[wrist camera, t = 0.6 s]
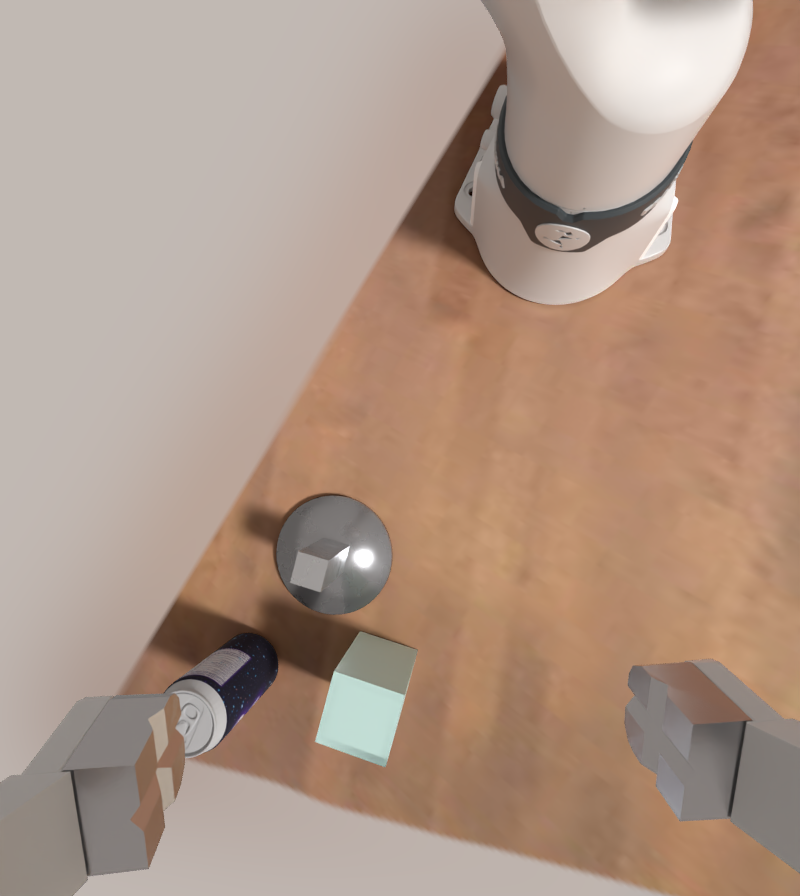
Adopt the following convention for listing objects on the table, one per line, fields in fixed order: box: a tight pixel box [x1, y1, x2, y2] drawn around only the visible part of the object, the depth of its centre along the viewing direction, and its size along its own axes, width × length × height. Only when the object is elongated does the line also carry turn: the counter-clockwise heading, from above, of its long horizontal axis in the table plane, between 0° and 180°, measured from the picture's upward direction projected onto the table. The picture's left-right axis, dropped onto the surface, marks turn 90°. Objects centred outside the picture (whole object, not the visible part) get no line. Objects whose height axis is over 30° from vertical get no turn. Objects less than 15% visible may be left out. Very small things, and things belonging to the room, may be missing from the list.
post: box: [276, 495, 392, 615], centre depth 44 cm, size 11×11×8 cm
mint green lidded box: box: [315, 631, 418, 767], centre depth 43 cm, size 6×6×9 cm
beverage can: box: [164, 633, 278, 758], centre depth 43 cm, size 6×6×12 cm
